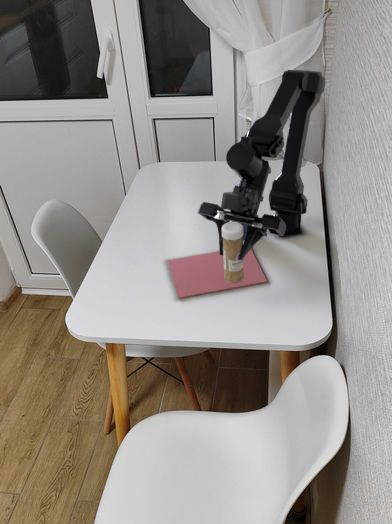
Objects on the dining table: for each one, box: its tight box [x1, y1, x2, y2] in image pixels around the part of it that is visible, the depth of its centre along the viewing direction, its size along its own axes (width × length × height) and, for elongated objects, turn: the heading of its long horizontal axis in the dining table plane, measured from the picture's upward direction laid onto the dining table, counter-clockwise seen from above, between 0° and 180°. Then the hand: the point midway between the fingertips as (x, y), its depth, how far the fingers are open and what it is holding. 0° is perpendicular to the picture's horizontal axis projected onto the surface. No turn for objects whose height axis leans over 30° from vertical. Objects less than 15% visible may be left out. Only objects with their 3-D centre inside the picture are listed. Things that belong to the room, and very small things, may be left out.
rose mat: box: [167, 248, 268, 300], centre depth 135 cm, size 22×16×1 cm
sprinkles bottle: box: [222, 221, 244, 284], centre depth 116 cm, size 5×5×14 cm
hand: (230, 257), depth 116 cm, fingers closed on sprinkles bottle, 4 cm apart
